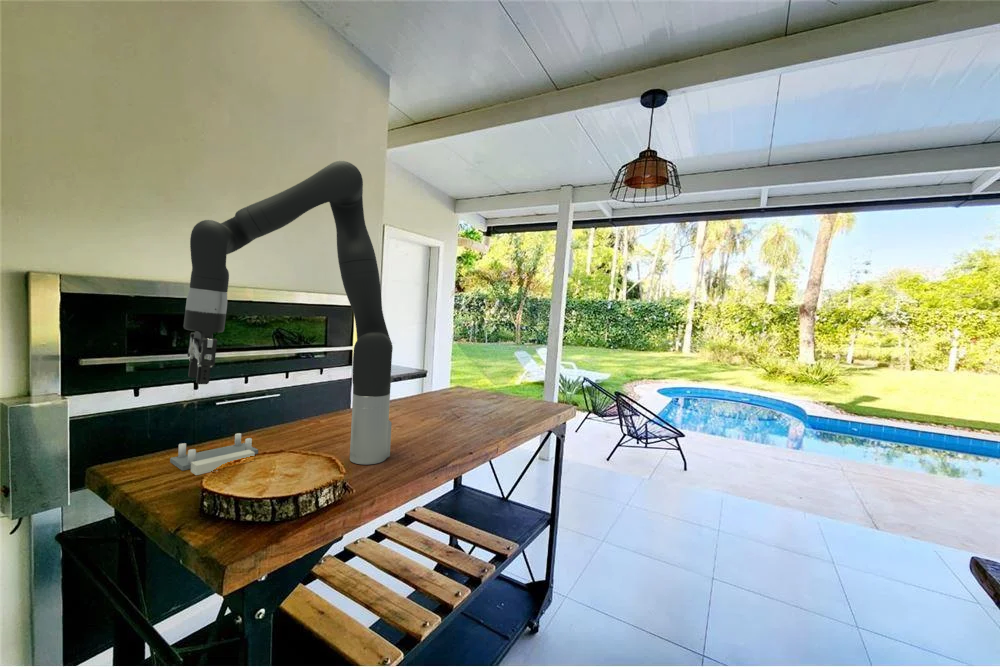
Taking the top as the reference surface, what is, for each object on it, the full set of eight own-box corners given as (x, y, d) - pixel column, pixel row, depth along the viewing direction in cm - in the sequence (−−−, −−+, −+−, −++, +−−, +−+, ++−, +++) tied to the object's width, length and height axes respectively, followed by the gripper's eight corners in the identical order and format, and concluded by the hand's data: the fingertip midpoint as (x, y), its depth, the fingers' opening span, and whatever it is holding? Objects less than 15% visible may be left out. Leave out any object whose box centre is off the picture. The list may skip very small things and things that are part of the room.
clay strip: (248, 459, 100) (248, 449, 100) (254, 462, 98) (254, 452, 98) (190, 473, 90) (191, 462, 90) (195, 476, 88) (196, 465, 88)
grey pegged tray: (244, 446, 107) (244, 431, 107) (258, 453, 103) (258, 438, 103) (170, 462, 94) (170, 445, 94) (182, 470, 90) (182, 453, 90)
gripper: (234, 314, 89) (225, 386, 90) (218, 310, 99) (210, 375, 99) (192, 310, 84) (183, 386, 84) (179, 306, 94) (171, 375, 94)
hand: (198, 380), depth 92 cm, fingers open, 8 cm apart
